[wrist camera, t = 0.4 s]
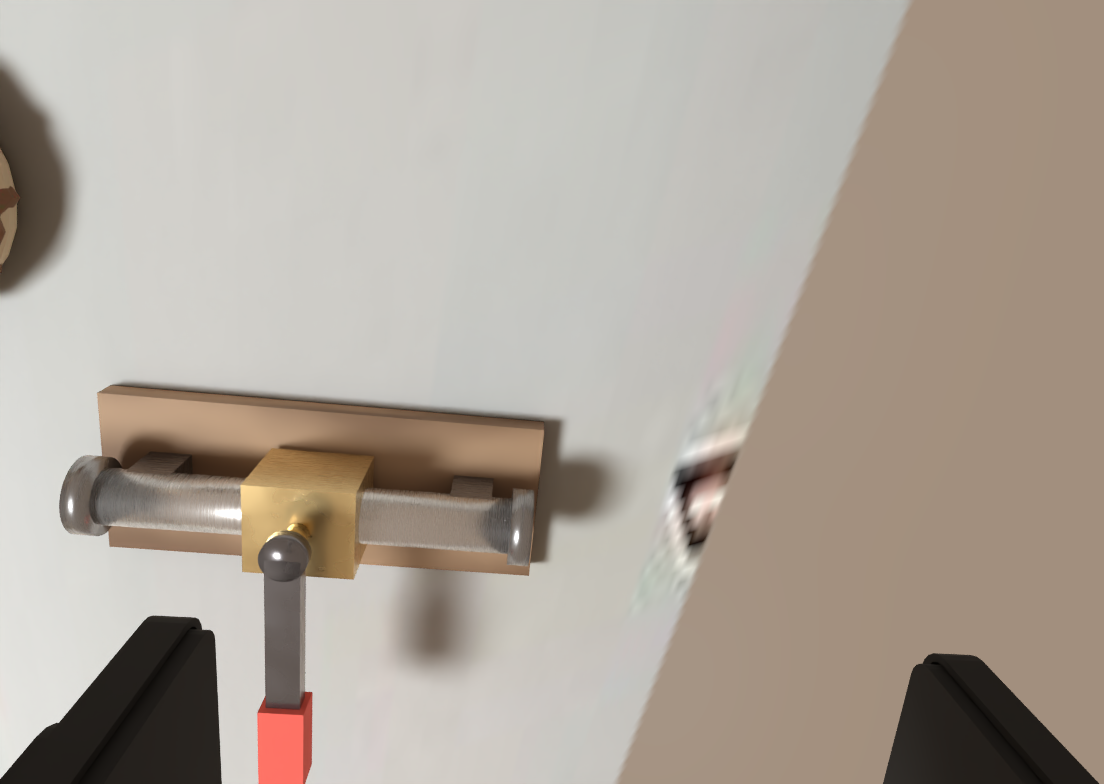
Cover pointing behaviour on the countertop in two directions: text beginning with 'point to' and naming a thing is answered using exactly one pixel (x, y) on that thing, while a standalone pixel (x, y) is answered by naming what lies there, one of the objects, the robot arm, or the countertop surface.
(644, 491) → the countertop surface
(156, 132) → the countertop surface
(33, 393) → the countertop surface
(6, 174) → the donut
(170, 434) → the valve board
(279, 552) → the valve lever
